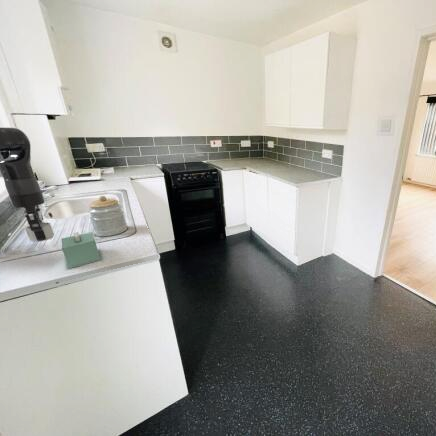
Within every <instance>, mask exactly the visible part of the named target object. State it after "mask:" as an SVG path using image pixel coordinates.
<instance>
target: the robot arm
mask: <svg viewBox="0 0 436 436" xmlns="http://www.w3.org/2000/svg"><path fill="white" fill-rule="evenodd" d="M5 152H9V154H8V157H7V158H5V159H2V160H0V173H1V176H2V178H3V181H4V185H5V189H6V191H7V194H8V197H9V199H10V202H11V203H12V206H13V208H16V209H17V208H18V209H22V208H23V209H25V210H24V211H23V216H24V217H25V218H26V221H27V222H26V223H27V224H28V226H30V228H31V230H32V231H34V233H35V236H36V239H37V241H41V242H43V241H42V240H45V241H47V240H46V236H45V234H44V231H43V227H42V223H45V221H44V215H43V212H42V208H40V206H41V205H44V204H45V202H46V200H45V198H44V195H43V192H42V189H41V187H40V184H39V182H38V180H37V178H36V176H35V172H34V171H33V167H32V166H31V165H32V164H31V159H32V158H31V157H32V156H31V152H32V151H31V140H30V139H29V137H28V135H27V134H26V133H25V132H24V131H23V130H21V129H20V128H16V127H0V153H5ZM34 224H38V226H37V227H34V226H33V225H34Z"/></svg>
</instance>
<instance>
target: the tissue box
mask: <svg viewBox="0 0 436 436" xmlns="http://www.w3.org/2000/svg"><path fill="white" fill-rule="evenodd" d="M95 240H96V239H95V237H94V235H93V232H92V231H90V232H85V233H81V234H79V232H78V231H77V232H74V233H73V235H72V236H66V237H63V238H62V237H61V251H62V252H63V256H64V259H65V261H66V263H67V266H68V269H72V268H76V267H80V266H84V265H87V264H92V263H95V262H98V261H101V260H102V259H101V256H100V253H99V250H98V246H97V243H96V241H95Z"/></svg>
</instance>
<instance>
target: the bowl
mask: <svg viewBox="0 0 436 436" xmlns="http://www.w3.org/2000/svg"><path fill="white" fill-rule="evenodd" d="M33 226H34V227H37V226H38V224H34V225H33ZM42 227H43V231H44V234H45V236H46V240H42V241H37V239H36V236H35V233H34V231H32V230H31V228H30V226H29V225H27V226H26V227H25V228H24V229H25V232H26V234H27V236H28V239H29V241H31V242H32V243H39V242H45V241H48V240H52V239H53V238H54V236H55V232H54V229H53V227H52V223H51V222H44V223H42Z"/></svg>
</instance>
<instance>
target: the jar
mask: <svg viewBox="0 0 436 436" xmlns="http://www.w3.org/2000/svg"><path fill="white" fill-rule="evenodd" d="M119 202H120V201H119V200H117V199H115V198H107V196H106V195H101V196H99V198H98V199H96V200H93V201H91V203H89V204H88V207H89V209H88V210H87V212H88V213H89V214H90V216H89V219H90V222H91V225H92V229H93V232H94V234H95V235H96V237H111V236H115V235H118V234H122V233H124V232H125V231H127V229H128V224H127V221H126V218H125V213H124V211H123V210H122V208H123V205H122V204H120V203H119Z"/></svg>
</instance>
